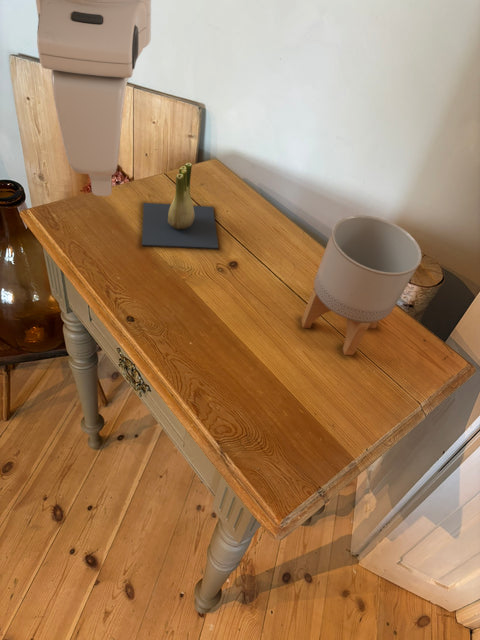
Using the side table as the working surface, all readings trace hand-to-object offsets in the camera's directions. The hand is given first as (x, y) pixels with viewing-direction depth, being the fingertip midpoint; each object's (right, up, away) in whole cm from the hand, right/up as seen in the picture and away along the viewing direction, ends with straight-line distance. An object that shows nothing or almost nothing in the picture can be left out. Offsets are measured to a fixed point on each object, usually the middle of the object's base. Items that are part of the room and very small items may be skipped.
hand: (106, 165), depth 47 cm
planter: (+30, -17, +31) cm, 47 cm away
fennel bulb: (+2, +2, +42) cm, 42 cm away
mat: (+2, +2, +42) cm, 42 cm away
